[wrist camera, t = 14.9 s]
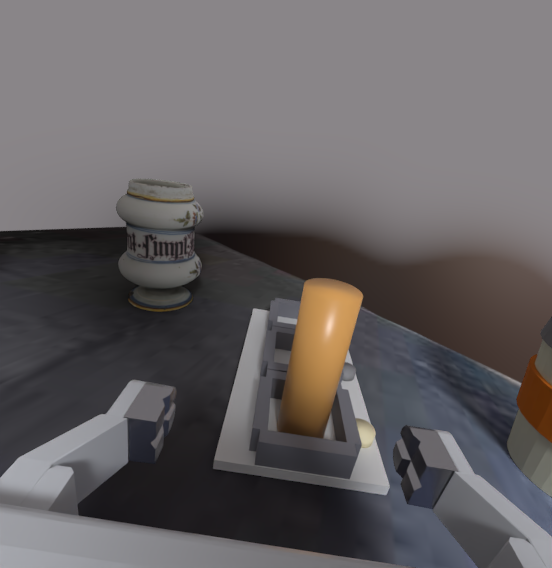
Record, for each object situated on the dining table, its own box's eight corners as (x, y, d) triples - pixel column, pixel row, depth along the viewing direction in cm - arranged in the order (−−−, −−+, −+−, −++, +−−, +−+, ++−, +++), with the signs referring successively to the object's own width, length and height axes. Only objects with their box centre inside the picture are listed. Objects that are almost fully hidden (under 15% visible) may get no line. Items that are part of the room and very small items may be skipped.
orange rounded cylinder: (267, 420, 29) (292, 281, 23) (302, 403, 31) (331, 275, 26) (298, 457, 26) (335, 307, 20) (334, 435, 28) (374, 297, 23)
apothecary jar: (117, 284, 52) (112, 172, 45) (189, 281, 58) (194, 181, 51) (122, 319, 42) (117, 183, 36) (208, 311, 48) (217, 193, 42)
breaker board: (386, 495, 25) (399, 464, 23) (212, 468, 25) (216, 436, 23) (338, 327, 50) (343, 308, 49) (252, 314, 50) (255, 294, 48)
